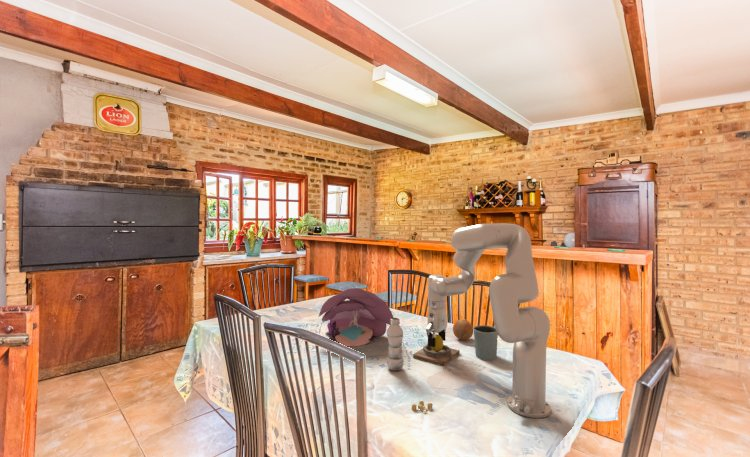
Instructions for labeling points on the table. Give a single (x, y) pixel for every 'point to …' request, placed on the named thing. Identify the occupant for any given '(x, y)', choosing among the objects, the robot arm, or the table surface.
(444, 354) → the holder
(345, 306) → the purple shell playhouse
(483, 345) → the grey cup
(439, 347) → the lemon
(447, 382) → the table surface
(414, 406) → the dice set
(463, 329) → the onion
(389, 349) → the plastic bottle
